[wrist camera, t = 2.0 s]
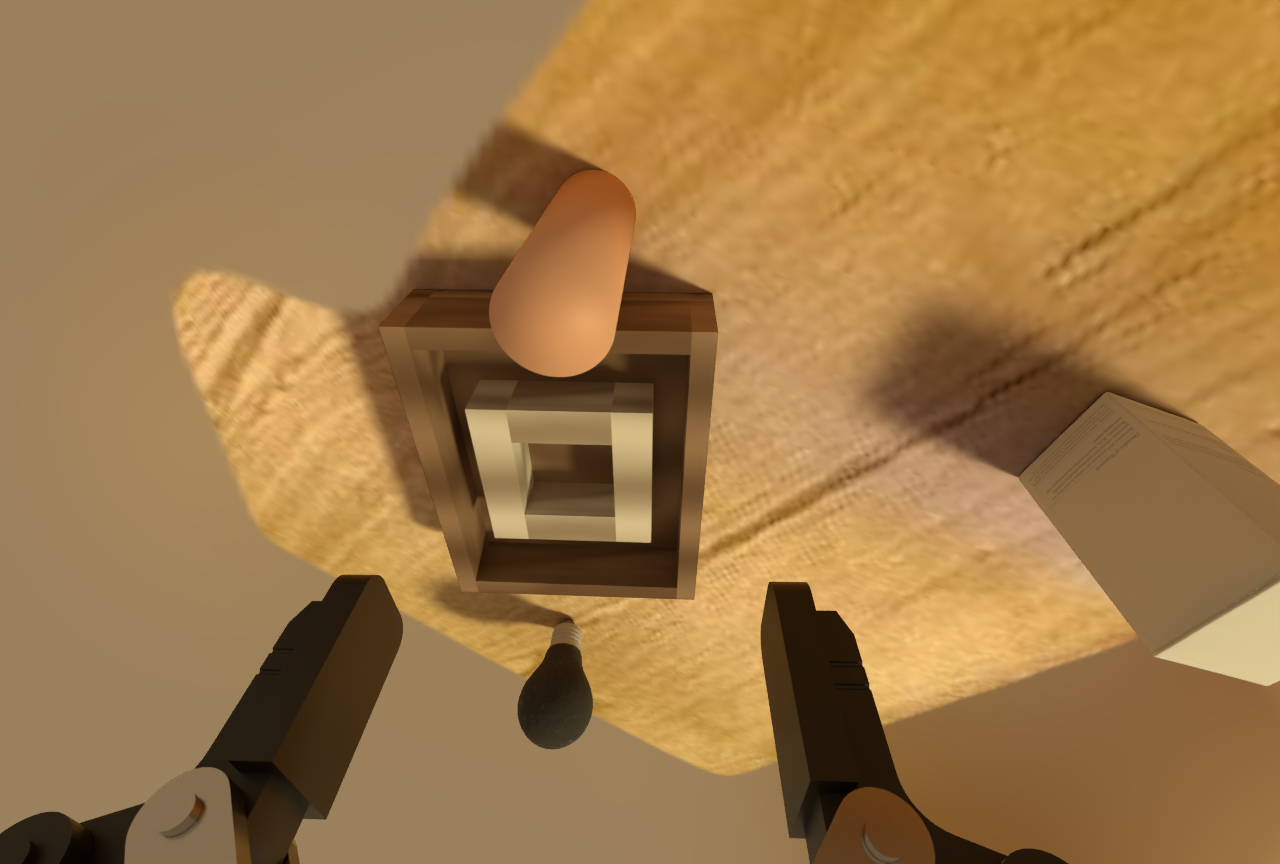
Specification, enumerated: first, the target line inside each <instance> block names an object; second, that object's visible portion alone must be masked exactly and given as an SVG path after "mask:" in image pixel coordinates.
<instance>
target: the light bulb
mask: <svg viewBox="0 0 1280 864" xmlns="http://www.w3.org/2000/svg"><path fill="white" fill-rule="evenodd" d="M581 637H582V631H581V629H580V628H579V627H578V626H577V625H575V623H574V622H572V621H569V620H567V621H565V622H564V623H561V624H559V625H557V626H556V627H555V628H554V631H553V634H552V640H551V645H550V648H549V649H548V650H547V653H546V655H545V658H544V660H543V662H542V663H541V665H540V666H539V667H538V668H537V669H536V670H535V672H534V673H533V674H532V675H531V676H530V678H529V679H528V680H527V681H526V683H525V685H524V687H523V689H522V691H521V694H520V697H519V701H518V719H519V722H520V725H521V728H522V730H523V731H524V733H525V735H526V736H527V738H529V740H531V742H533V743H534V744H536V745H538V746H539V747H542V748H546V749H560V748H563V747H565V746H568V745H570V744H571V743H573V742H574V741H576V740H577V739H578V738H579V737H580V736H581V735H582V733H583V732H584V731H585V729H586V727H587V725H588V723H589V721H590V718H591V715H592V709H593V698H592V693H591V688H590V685H589V683H588V680H587V678H586V676H585V673H584V671H583V667H582V656H581V652H580V649H581V641H582V638H581Z"/></svg>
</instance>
